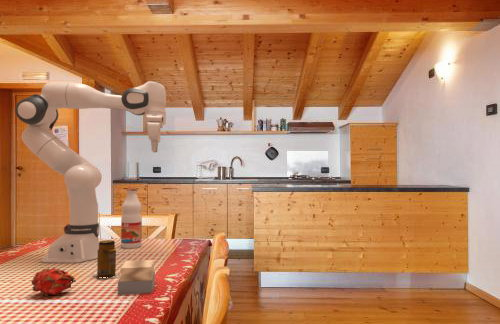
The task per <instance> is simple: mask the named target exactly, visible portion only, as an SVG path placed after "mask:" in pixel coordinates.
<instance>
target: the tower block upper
mask: <svg viewBox="0 0 500 324" xmlns="http://www.w3.org/2000/svg"><path fill="white" fill-rule="evenodd" d="M154 272H155V260H154V259H146V260H145V259H144V260H142V259H141V260H125V261H124V263H123V264H122V265H121V267H120V276H121V277H119V280H120V282H124V281H147V280H152V277H153V274H154Z"/></svg>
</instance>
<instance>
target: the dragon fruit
mask: <svg viewBox="0 0 500 324" xmlns="http://www.w3.org/2000/svg"><path fill="white" fill-rule="evenodd" d="M41 270H42V271H41ZM41 270H40V271H38V272H37V273H36V274H35V275H34V276H33V279H32V280H31V285H32V292H38V293H39V292H41V293H42V295H43V296H44V297H48V296H49V295H56V296H62V295H64V294H66V293H67V292H66V291H65V290H68V289H71V288H72V284H73V283H77V282H76V281H77V280H76V278H75V277H74V276H73V275H72V274H67V273H66V272H65V270H62V269H60V268H55V267H52V268H51V269H50V268H44V269H41ZM62 291H63V292H62Z"/></svg>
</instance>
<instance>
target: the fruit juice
mask: <svg viewBox="0 0 500 324" xmlns="http://www.w3.org/2000/svg"><path fill="white" fill-rule="evenodd" d="M137 192H138V188H135V187H133V188H132V187H130V188H129V187H128V188H126V196H125V199H124V201H123V203H122V204H121V210H122V214H121V221H120V222H121V225H120V227H121V229H120V231H121V232H120V233H121V234H120V246H121V248H122V249H137V248H138V249H139V248H140V247H142V245H143V244H142V243H143V241H142V240H143V239H142V238H143V237H142V236H143V235H142V234H143V231H142V230H143V229H142V228H143V227H142V226H143V216H142V214H141V211H142V203H141V201H140V199H139V197H138V194H137Z"/></svg>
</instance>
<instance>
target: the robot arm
mask: <svg viewBox="0 0 500 324" xmlns="http://www.w3.org/2000/svg"><path fill="white" fill-rule="evenodd" d="M166 105H167V90H166V87H165V86H164V85H163V84H162V83H161V82H159V81H154V80H152V81H151V80H148V81H147V82H145V83H143V84H141V85H139V86H135V87H129V88H127V89H125V90H124V91H123V92H122V94H121V95H118V94H110V93H105V92H102V91H100V90H99V89H98V90H97V89H96V88H93V87H92V86H89V84H88V85H87V84H84V83H81V82H80V83H79V82H75V81H51V82H47V83H45V84H43V86H42V88H41V93H40V94H37V93H35V94H32V95H31V96H29V97H25V98H23V99H20V100H19V101H18V102H17V103H16V105H15V107H14V111H15V115H16V118H17V119H18V120H20V121H21V122H22V123H23V124H26V128H25V129H24V130H23V131H22V133H21V140H22V142H23V143H24V145H25V147H27V148H28V150H30V151H31V153H32V154H34V155H35V156H36V157H37V158H39V160H41V161H42V162H43V163H44V164H46V165H47V166H48V167H49V168H50V169H51V170H53V171H55V172H57V173H58V174H59V175H61V176H63V177H64V178H63V179H64V184H65V186H66V192H67V198H68V203H69V204H68V205H69V206H68V207H69V218H68V219H69V223H67V224H66V225H65V226H64V227H63V234H62V235H61V236H59V237H58V238H56V239H55V241H53V242H52V243H51V244H50V245H49V248H48V252H47V254H45V255H44V256H43V257H41V262H42V263H60V264H61V263H62V264H63V263H69V264H70V263H71V264H72V263H73V264H74V263H83V262H86V261H91V260H95V259H96V260H97V259H98V249H99V242H100V240H99V239H100V238H99V236H100V223H99V204H98V199H97V193H96V188H97V187H98V186H100V184H101V182H102V177H103V175H102V174H101V171H100V169H98V168H97V167H96V166H95V165H94V164H92V163H91V162H89V161H88V160H87V159H86V158H84V157H83V156H81V155H80V154H78V153H77V152H75V151H74V150H73V149H72V148H70V147H69V146H68V145H67V144H66V143H65V142H64V141H63V140H62V139H60V138H58V137H57V135H55V134H54V133H53V132H52V129H53V128H54V125H55V124H56V123H57V121H58V119H59V111H58V109H71V110H74V109H75V110H78V109H79V110H85V109H87V110H88V109H109V110H110V109H112V110H120V111H121V110H122V111H126V112H129V113H131V114H133V115H135V116H143V115H144V124H146V125H147V135H148V139H149V141H150V145H151V146H150V147H151V152H153V153H158V147H159V143H160V142H161V129H163V126H164V125H166V123H167V122H166V121H167V120H166V119H167V117H166V116H167V113H166Z"/></svg>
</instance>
